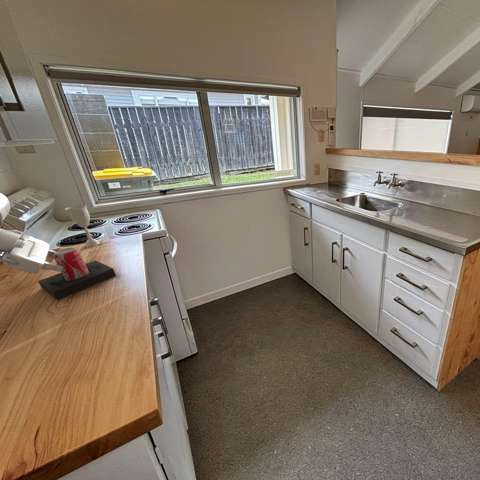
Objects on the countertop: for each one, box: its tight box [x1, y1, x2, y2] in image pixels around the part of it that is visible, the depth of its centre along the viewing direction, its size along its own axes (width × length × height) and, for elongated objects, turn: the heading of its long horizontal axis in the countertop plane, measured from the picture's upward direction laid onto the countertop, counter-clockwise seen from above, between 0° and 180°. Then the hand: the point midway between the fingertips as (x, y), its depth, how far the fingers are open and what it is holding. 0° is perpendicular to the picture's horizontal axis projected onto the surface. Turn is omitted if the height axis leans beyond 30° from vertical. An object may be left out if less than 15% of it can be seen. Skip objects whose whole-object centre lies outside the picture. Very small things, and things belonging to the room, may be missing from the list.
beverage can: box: [53, 247, 89, 281], centre depth 86 cm, size 6×6×12 cm
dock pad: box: [37, 260, 117, 301], centre depth 88 cm, size 16×14×3 cm
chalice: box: [65, 204, 100, 248], centre depth 116 cm, size 7×7×18 cm
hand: (63, 263), depth 84 cm, fingers open, 8 cm apart
